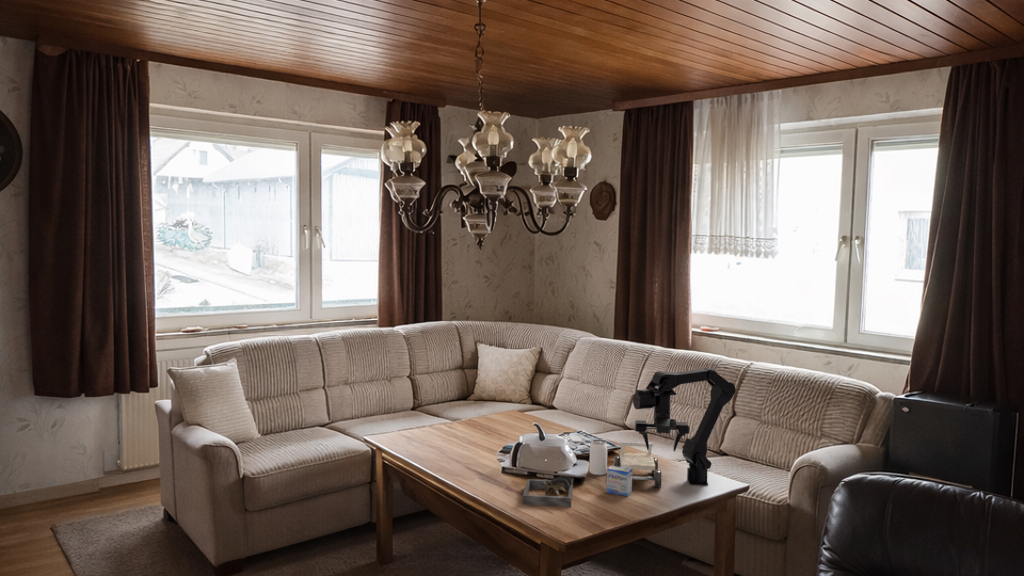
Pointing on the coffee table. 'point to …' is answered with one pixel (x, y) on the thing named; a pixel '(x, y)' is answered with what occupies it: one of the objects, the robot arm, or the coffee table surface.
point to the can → (598, 457)
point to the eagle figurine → (557, 484)
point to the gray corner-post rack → (639, 462)
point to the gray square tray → (545, 499)
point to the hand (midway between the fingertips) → (661, 450)
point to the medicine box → (619, 480)
